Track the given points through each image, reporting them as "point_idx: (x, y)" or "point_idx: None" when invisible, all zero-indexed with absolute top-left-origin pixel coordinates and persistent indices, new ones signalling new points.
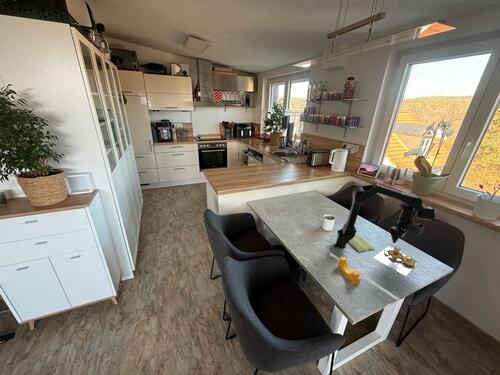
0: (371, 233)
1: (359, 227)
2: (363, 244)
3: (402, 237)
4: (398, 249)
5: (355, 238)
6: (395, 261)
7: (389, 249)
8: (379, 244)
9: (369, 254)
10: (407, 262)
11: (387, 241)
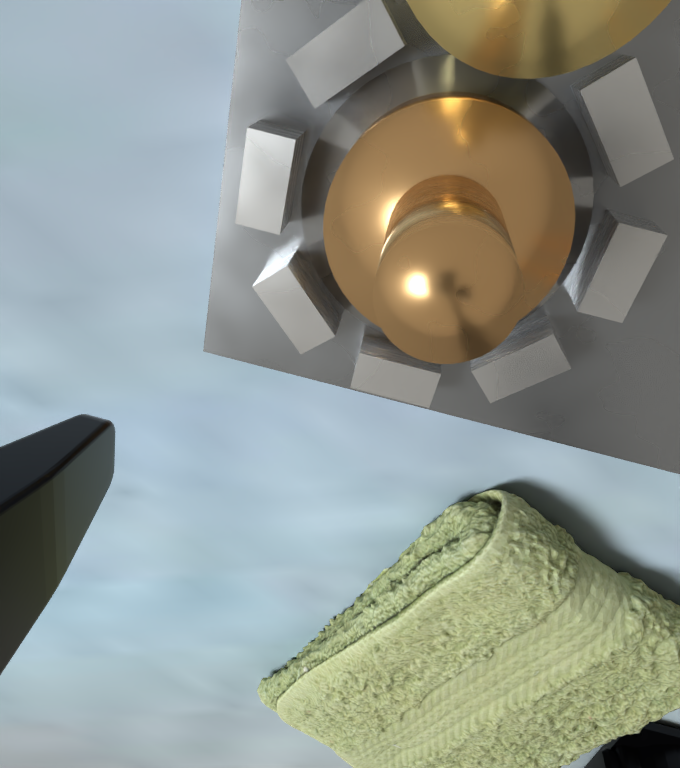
0: None
1: (44, 662)
2: (510, 652)
3: (98, 429)
4: (516, 273)
5: (422, 725)
6: (656, 171)
7: (326, 334)
8: (225, 443)
9: (626, 519)
10: None
11: (23, 360)
